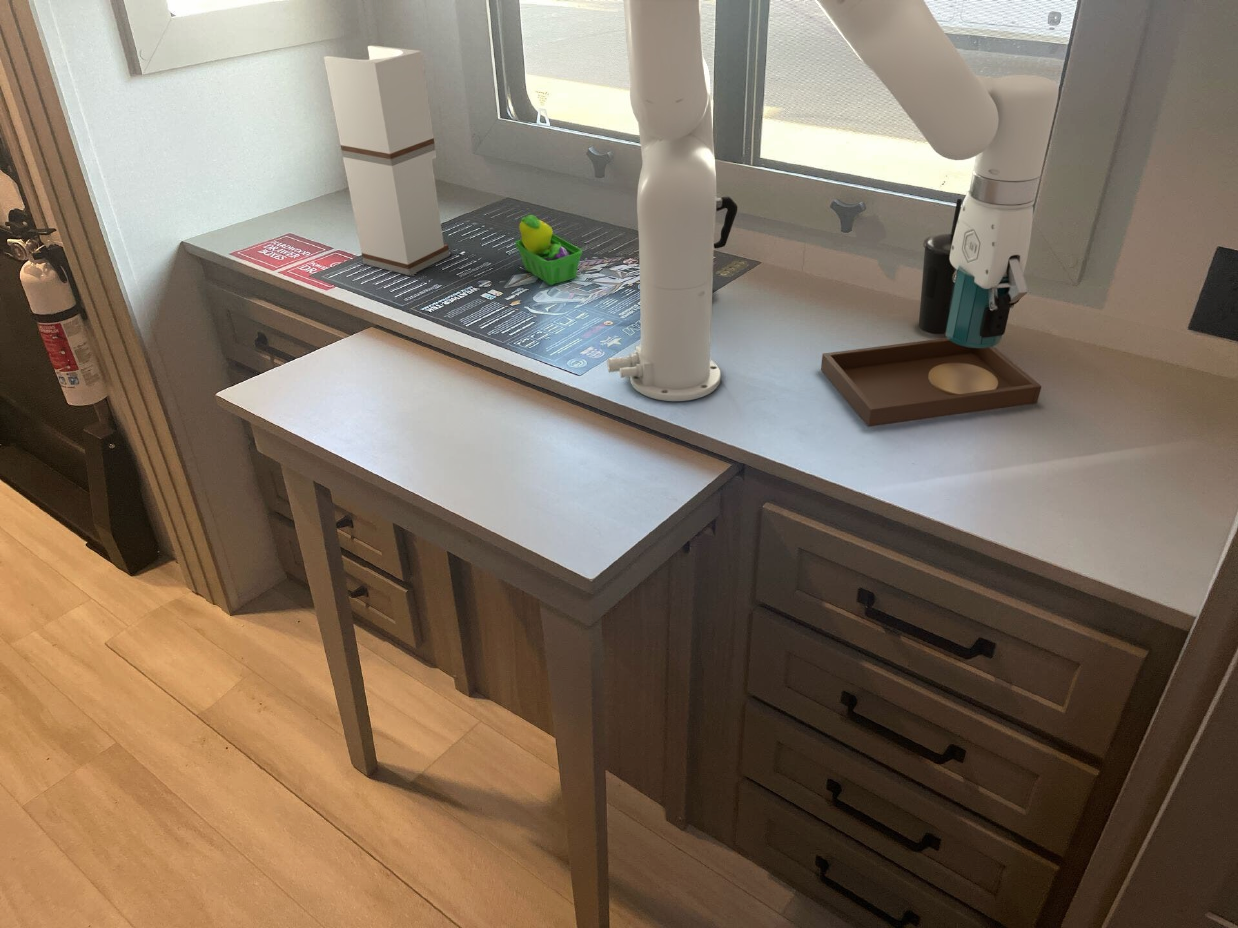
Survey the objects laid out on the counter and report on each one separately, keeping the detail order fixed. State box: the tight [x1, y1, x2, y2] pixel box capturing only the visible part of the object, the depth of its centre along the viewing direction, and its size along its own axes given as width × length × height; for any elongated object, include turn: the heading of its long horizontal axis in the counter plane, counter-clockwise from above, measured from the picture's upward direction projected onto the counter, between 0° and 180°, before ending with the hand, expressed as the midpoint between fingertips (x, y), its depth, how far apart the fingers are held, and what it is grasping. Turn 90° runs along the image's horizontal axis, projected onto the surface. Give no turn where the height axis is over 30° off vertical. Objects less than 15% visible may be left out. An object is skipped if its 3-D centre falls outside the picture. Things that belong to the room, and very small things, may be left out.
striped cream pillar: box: [323, 45, 451, 276], centre depth 158 cm, size 11×11×35 cm
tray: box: [820, 337, 1043, 428], centre depth 123 cm, size 24×16×3 cm, turn 102°
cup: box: [945, 265, 1008, 348], centre depth 118 cm, size 7×7×10 cm
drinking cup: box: [918, 198, 963, 335], centre depth 133 cm, size 8×8×20 cm
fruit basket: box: [514, 214, 583, 286], centre depth 157 cm, size 11×9×11 cm
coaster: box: [928, 363, 998, 395], centre depth 125 cm, size 9×9×1 cm
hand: (975, 322), depth 120 cm, fingers closed on cup, 7 cm apart
